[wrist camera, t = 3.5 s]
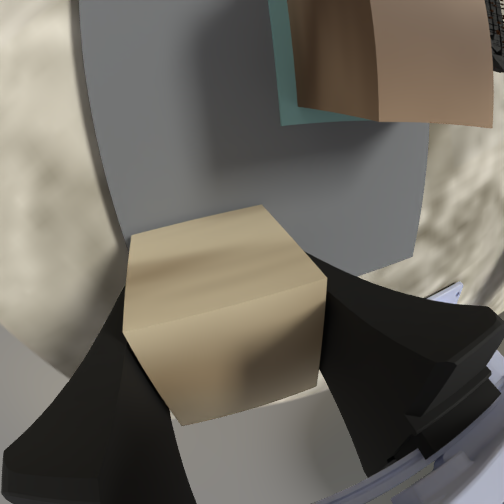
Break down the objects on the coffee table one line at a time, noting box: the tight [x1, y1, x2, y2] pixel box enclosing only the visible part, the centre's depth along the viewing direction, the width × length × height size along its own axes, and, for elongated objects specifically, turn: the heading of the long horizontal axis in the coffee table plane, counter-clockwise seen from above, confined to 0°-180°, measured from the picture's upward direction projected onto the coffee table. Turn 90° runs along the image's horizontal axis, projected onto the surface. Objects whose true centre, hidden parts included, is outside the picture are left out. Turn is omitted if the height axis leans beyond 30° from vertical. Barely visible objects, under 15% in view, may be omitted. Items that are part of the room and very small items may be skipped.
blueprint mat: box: [79, 0, 429, 277], centre depth 9 cm, size 15×13×1 cm
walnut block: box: [287, 0, 493, 128], centre depth 6 cm, size 5×5×4 cm
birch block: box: [123, 204, 327, 426], centre depth 9 cm, size 4×4×4 cm
